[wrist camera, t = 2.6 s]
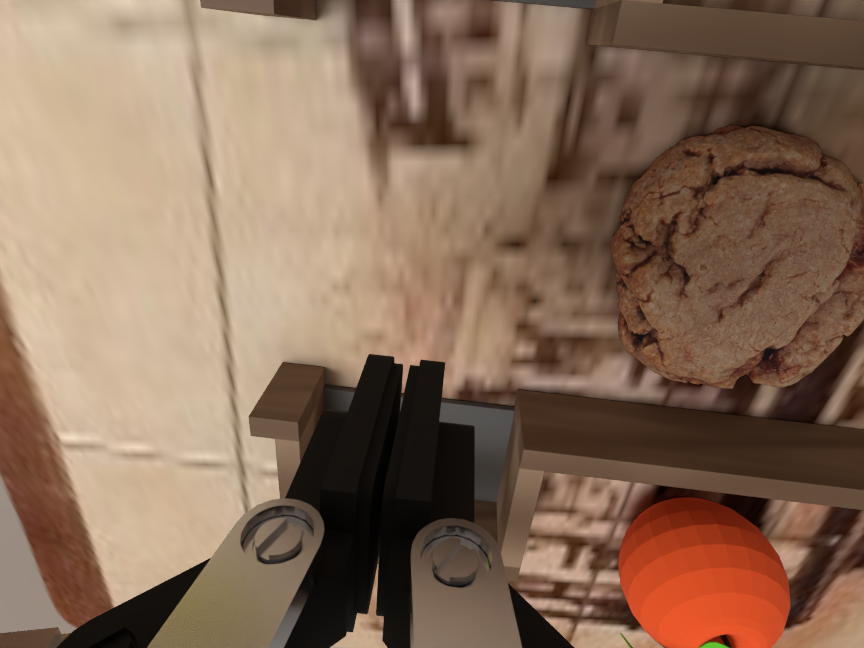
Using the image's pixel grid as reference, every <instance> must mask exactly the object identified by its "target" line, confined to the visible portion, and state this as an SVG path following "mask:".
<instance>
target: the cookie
mask: <svg viewBox="0 0 864 648" xmlns="http://www.w3.org/2000/svg"><path fill="white" fill-rule="evenodd" d="M620 222H621V226H620V228H619V229H618V230H617V232H616V233H615V234H614V235H613V237H612V240H611V248H610V249H611V258H612V260H613V261H614V264H615V267H616V270H617V272H616V279H617V291H618V293H619V295H620V300H619V302H618V308H619V310H620V311H621V314H620V318H619V320H618V330H619V337H620V340H621V342H622V344H623V346H624V347H625V349H626V350H627V351H628V352H629V353H630V354H631V355H632V356H634V357H635V358H637V359H638V360H639V361H641V362H642V363H643V364H644V365H646V366H647V367H648V368H650V369H651V370H652V371H653V372H655V373H657V374H659V375H661V376H663V377H665V378H668V379H670V380H674V381H682V382H684V383H686V382H688V381H689V382H691V383H694V384H700V383H701V384H705V385H708V386H712V387H716V388H726V389H730V388H733V387H734V384H735V382H736V380H737V379H738V378H739V377H741V376H743V375H745V374H747V375H749V377H750V379H751V380H754V381H753V383H757V384H764V385H767V386H772V387H786V386H789V385H792V384H794V383H796V382H798V381H799V380H800V379H801V378H803V377H804V376H806V375H807V374H809V373H810V372H812V371H813V370H814V369H815V368H816V367H817V366H818V365H819V364H821V363H822V362H823V361H824V360H825V359H826V358H827V357H828V356H829V354H830V353H831V352H833V351H834V350H835V349H836V347H837V346H838V345H839V344H840V343H841V341H842V339H843V336H844V335H846V336H849V335H850V334H851V333H852V332H853V331H854V330H855V329H856V328H857V327H858V326H859V324H860V323H861V322H862V321H863V319H864V184H861V183H856V182H855V181H854V180H853V177H852V175H851V173H850V171H849V169H848V168H847V167H846V165H844V164H843V163H842V162H840V161H838V160H835V159H832V158H829V157H826V156H823V155H821V153H820V150H819V146H818V144H817V143H816V142H814V141H812V140H810V139H808V138H806V137H803V136H798V135H795V134H792V133H791V134H788V133H784V132H779V131H776V130H772V129H768V128H764V127H760V126H750V127H747V128H743V127H740V126H736V125H734V124H731V125H727V126H724V127H721V128H719V129H717V130H716V131H715V133H714V134H709V135H707V136H695V137H690V138H687V139H685V140H682V141H680V142H678V143H677V144H676V145H675V146H674V147H672V148H669V149H668V150H667V151H666V152H664V153H663V154H662V155H661V156H660V157H658V158H657V159H656V160H655V161H654V162H653V163H652V164H651V165H650V166H649V167H648V168H647V169H646V171H645V172H644V173H643V175H642V177H641V178H639V179H637V180H636V181H635V182H634V183H633V184H632V187H631V190H630V191H629V193H628V194H627V196H626V197H625V201H624V205H623V210H622V213H621V216H620Z"/></svg>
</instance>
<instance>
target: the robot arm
mask: <svg viewBox="0 0 864 648" xmlns="http://www.w3.org/2000/svg"><path fill="white" fill-rule="evenodd" d="M444 369H445V362H437V361H428V360H421V361H420V366H413V365H410V368H409V373H408V378H407V383H406V387H405V392H404V397H403V401H402V406H401V411H400V405H401V390H402V374H403V364H395V363H394V357H391V356H382V355H373V354H369V355H368V357H367V360H366V363H365V366H364V369H363V371H362V374H361V377H360V380H359V382H358V385H357V388H356V391H355V393H354V396H353V399H352V402H351V404H350V407H349V410H348V411H340V410H331V409H325V410H324V411H323V412H322V414H321V416H320V419H319V421H318V423H317V425H316V428H315V430H314V432H313V435H312V437H311V439H310V442H309V444H308V446H307V449H306V451H305V453H304V455H303V458H302V460H301V462H300V465H299V467H298V469H297V472H296V474H295V476H294V478H293V481H292V483H291V485H290V488H289V490H288V492H287V495H286V497H285V498H284V499H276V500H270V501H267V502H265V503H262V504H259V505H257V506H255V507H254V508H252V509H251V510H249V511H248V512H246V513H245V514H244V515H243V516H242V517H241V518H240V519H239V520H238V522H237V523H236V524H235V525H234V527H233V528H232V530H231V531H230V532H229V534H228V535H227V537H226V538H225V539H224V541H223V542H222V544H221V545H220V546H219V548H218V549H217V551H216V552H215V553H214V555H213V556H212V558H210V559H208V560H206V561H204V562H202V563H200V564H198V565H196V566H194V567H192V568H190V569H189V570H187V571H185V572H183V573H181V574H179V575H177V576H175V577H173V578H171V579H169V580H167V581H165V582H163V583H161V584H159V585H157V586H155V587H154V588H152V589H150V590H148V591H146V592H144V593H142V594H140V595H138V596H136V597H134V598H132V599H130V600H128V601H126V602H124V603H122V604H120V605H119V606H117V607H115V608H113V609H111V610H109V611H107V612H105V613H103V614H101V615H99V616H97V617H95V618H93V619H91V620H90V621H88V622H87V623H85V624H84V625H82V626H80V627H79V628H77V629H76V630H74V631H73V632H72V633H69V634H61V633H60V631H59V628H58V627H57V628H47V629H37V630H27V631H18V632H8V633H0V648H330V647H331V646H332V645H334V644H335V643H337V642H338V641H339V640H341V639H342V638H344V637H345V636H346V633H347V632H353V629H354V625H355V620H356V615H357V613H361V614H367V613H368V610H369V605H370V600H371V595H372V589H373V584H374V579H375V574H376V569H377V564H378V559H379V570H378V589H377V609H376V615H378V616H384V626H383V642H384V643H385V645H386V646H387V647H388V648H574V647H573V646H572V645H571V644H570V643H569V642H568V641H567V640H566V639H565V638H564V637H563V636H562V635H561V634H560V633H559V632H558V631H557V630H556V629H555V628H554V627H553V626H551V625H550V624H549V623H548V622H547V621H546V620H545V619H544V618H543V617H542V616H541V615H540V614H539V613H538V612H537V611H536V610H535V609H534V608H533V607H532V606H531V605H530V604H529V603H528V602H527V601H526V600H525V599H524V598H523V597H522V596H521V595H520V594H519V593H518V592H517V591H516V590H514V589H513V588H512V587H511V586H510V585H509V584H508V582H507V577H506V573H505V568H504V564H503V559H502V555H501V552H500V550H499V547H498V545H497V542H496V541H495V540H494V539H493V537H492V536H491V535H490V534H489V532H487V531H486V530H484V529H483V528H482V527H480V526H479V525H477V524H475V523H474V496H475V427H474V426H472V425H464V424H455V423H446V422H439V418H440V408H441V399H442V389H443V379H444Z"/></svg>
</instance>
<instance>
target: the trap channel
mask: <svg viewBox="0 0 864 648" xmlns="http://www.w3.org/2000/svg"><path fill="white" fill-rule="evenodd" d="M494 1H505V2H517V3H528V4H539V5H551V6H562V7H573V8H585V9H592V14H591V19H590V24H589V30H588V35H587V40H586V45H595V46H606V47H617V48H628V49H639V50H650V51H661V52H672V53H683V54H694V55H705V56H716V57H727V58H738V59H749V60H760V61H771V62H782V63H793V64H804V65H815V66H826V67H837V68H848V69H859V70H864V21H858V20H847V19H835V18H824V17H813V16H801V15H790V14H778V13H767V12H755V11H744V10H733V9H721V8H710V7H698V6H687V5H675V4H664V3H663V0H494ZM200 2H201V8H209V9H216V10H224V11H232V12H240V13H247V14H255V15H265V16H276V17H287V18H298V19H309V20H316V0H200ZM355 391H356V388H348V387H339V386H330V385H325V367H317V366H308V365H300V364H291V363H282V364H281V366H280V367H279V369H278V371H277V372H276V374H275V375H274V377H273V379H272V380H271V382H270V383H269V385H268V387H267V388H266V390H265V391H264V393H263V395H262V396H261V398H260V399H259V401H258V403H257V404H256V406H255V407H254V409H253V411H252V412H251V414H250V415H249V424H250V432H251V436H256V437H265V438H273V439H275V445H276V457H277V468H278V480H279V491H280V499H284V498H285V497H286V495H287V492H288V490H289V488H290V485H291V483H292V481H293V478H294V476H295V474H296V472H297V469H298V467H299V465H300V462H301V460H302V458H303V455H304V453H305V451H306V449H307V446H308V444H309V442H310V439H311V437H312V435H313V432H314V430H315V428H316V425H317V423H318V421H319V419H320V416H321V414H322V412H323V411H324V410H325V409H331V410H340V411H348V410H349V407H350V404H351V402H352V399H353V396H354V393H355ZM403 397H404V394H401V405H400V411H401V406H402V401H403ZM439 422H446V423H455V424H464V425H472V426H474V427H475V496H474V523H475V524H477V525H479V526H480V527H482V528H483V529H484V530H486V531H487V532H489V534H490V535H491V536H492V537H493V539H494V540H495V541H496V542H497V545H498V547H499V550H500V552H501V555H502V559H503V564H504V568H505V573H506V577H507V581H515V582H517V579H518V575H519V571H520V567H521V563H522V559H523V555H524V551H525V547H526V543H527V539H528V535H529V531H530V527H531V523H532V519H533V515H534V511H535V507H536V503H537V499H538V495H539V491H540V487H541V483H542V480H543V476H544V472H554V473H562V474H570V475H578V476H587V477H595V478H603V479H611V480H620V481H628V482H636V483H645V484H653V485H661V486H669V487H678V488H686V489H694V490H702V491H711V492H719V493H727V494H735V495H744V496H752V497H760V498H768V499H777V500H785V501H793V502H801V503H810V504H818V505H826V506H834V507H843V508H851V509H859V510H864V430H862V429H854V428H845V427H836V426H828V425H819V424H810V423H802V422H793V421H784V420H776V419H767V418H758V417H750V416H741V415H732V414H724V413H715V412H706V411H698V410H689V409H681V408H672V407H663V406H655V405H646V404H637V403H629V402H620V401H611V400H603V399H594V398H585V397H577V396H568V395H559V394H551V393H542V392H533V391H525V390H517V395H516V400H515V405H514V407H510V406H502V405H493V404H485V403H476V402H467V401H459V400H450V399H441V408H440V418H439ZM378 564H379V559H378Z"/></svg>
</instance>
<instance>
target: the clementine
mask: <svg viewBox="0 0 864 648" xmlns="http://www.w3.org/2000/svg"><path fill="white" fill-rule="evenodd" d="M619 574H620V584H621V587H622V589H623V592H624V594H625V597H626V599H627V602H628V604H629V606H630V609H631V611H632V614H633V615H634V616H635V618H636V619H637V620H638V622H639V623H640V624H641V626H642V627H643V628H644V629H645V631H646V632H647V633H648V634H649V635H650V636H651V637H652V638H653V639H654V640H655V641H657V642H658V643H659V644H661V645H662V646H663V647H664V648H771V647H772V646H773V645H774V644H775V643H776V642H777V641H778V639H779V638H780V637H781V635H782V633H783V630H784V627H785V624H786V621H787V617H788V614H789V610H790V594H789V585H788V580H787V575H786V572H785V570H784V567H783V565H782V562H781V560H780V557H779V555H778V554H777V552H776V551H775V550H774V548H773V547H772V545H771V544H770V543H769V541H768V540H767V539H766V537H765V536H764V535H763V534H762V532H761V531H760V530H759V528H757V527H756V526H755V525H753V524H752V523H751V522H749V521H748V520H747V519H745V518H744V517H743V516H741V515H740V514H738V513H737V512H735V511H734V510H733V509H731V508H728V507H726V506H723V505H720V504H718V503H715V502H712V501H709V500H706V499H700V498H693V497H686V498H674V499H670V500H665V501H662V502H660V503H657V504H655V505H652V506H651V507H649V508H648V509H646V510H645V511H643V512H642V513H641V514H640V515H639V516H638V517H637V518H636V519H635V520H634V522H633V523H632V524H631V526H630V527H629V528H628V530H627V532H626V534H625V536H624V538H623V541H622V545H621V549H620V554H619ZM621 635H622V634H621ZM622 637H623V638H624V640H625V641H626V643H627V644H628V645H629V647H630V648H633V647H632V646H631V645H630V644H629V642H628V641H627V640H626V639H625V637H624V636H623V635H622Z"/></svg>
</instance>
